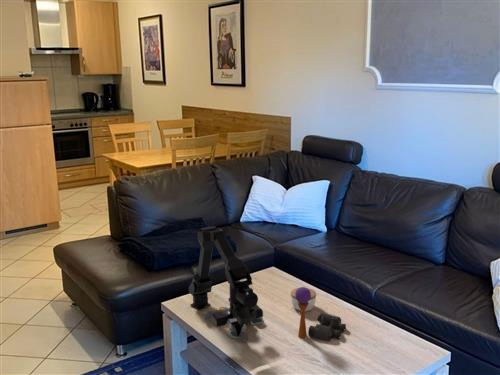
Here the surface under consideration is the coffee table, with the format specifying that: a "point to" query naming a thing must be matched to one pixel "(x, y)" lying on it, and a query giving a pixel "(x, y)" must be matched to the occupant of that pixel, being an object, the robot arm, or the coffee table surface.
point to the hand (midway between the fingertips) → (237, 336)
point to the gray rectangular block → (242, 334)
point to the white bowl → (311, 301)
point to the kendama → (302, 308)
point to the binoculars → (327, 327)
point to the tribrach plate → (250, 324)
